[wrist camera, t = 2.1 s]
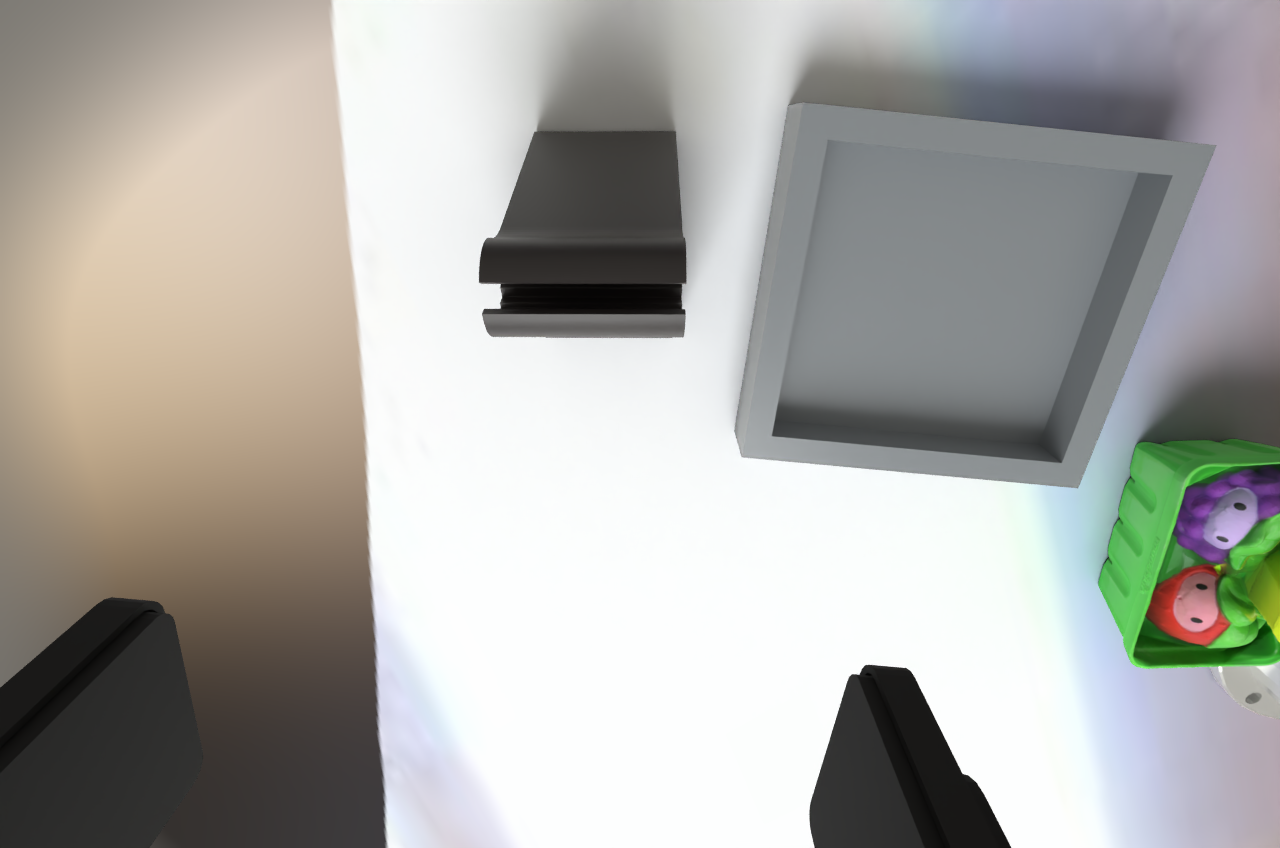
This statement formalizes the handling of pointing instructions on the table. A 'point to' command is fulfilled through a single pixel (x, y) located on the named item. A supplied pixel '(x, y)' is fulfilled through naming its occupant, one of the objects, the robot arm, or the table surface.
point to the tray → (954, 291)
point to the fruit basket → (1198, 555)
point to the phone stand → (591, 240)
